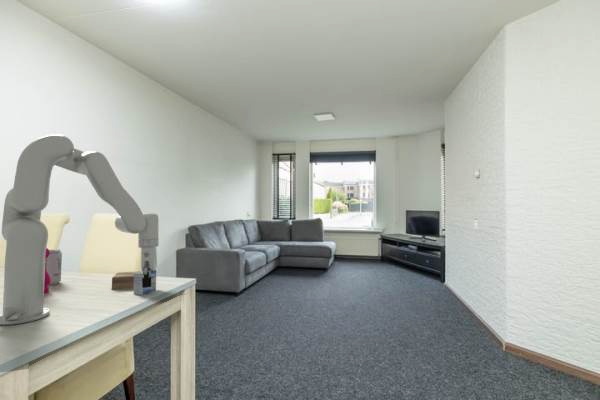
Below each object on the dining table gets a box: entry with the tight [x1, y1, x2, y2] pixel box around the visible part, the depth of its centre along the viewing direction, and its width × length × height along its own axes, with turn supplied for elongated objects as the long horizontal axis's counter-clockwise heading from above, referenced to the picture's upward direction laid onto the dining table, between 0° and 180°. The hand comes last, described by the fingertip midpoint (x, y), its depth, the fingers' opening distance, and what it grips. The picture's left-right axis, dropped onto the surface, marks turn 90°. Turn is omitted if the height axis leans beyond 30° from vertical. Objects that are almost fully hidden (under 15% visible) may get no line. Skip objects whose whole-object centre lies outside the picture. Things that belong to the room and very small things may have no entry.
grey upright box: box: [46, 248, 63, 286], centre depth 134 cm, size 6×6×15 cm
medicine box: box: [133, 269, 157, 296], centre depth 125 cm, size 8×4×9 cm, turn 166°
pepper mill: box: [44, 247, 51, 295], centre depth 121 cm, size 7×7×20 cm
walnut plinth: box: [111, 270, 142, 291], centre depth 134 cm, size 10×10×5 cm
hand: (148, 283), depth 125 cm, fingers open, 9 cm apart
